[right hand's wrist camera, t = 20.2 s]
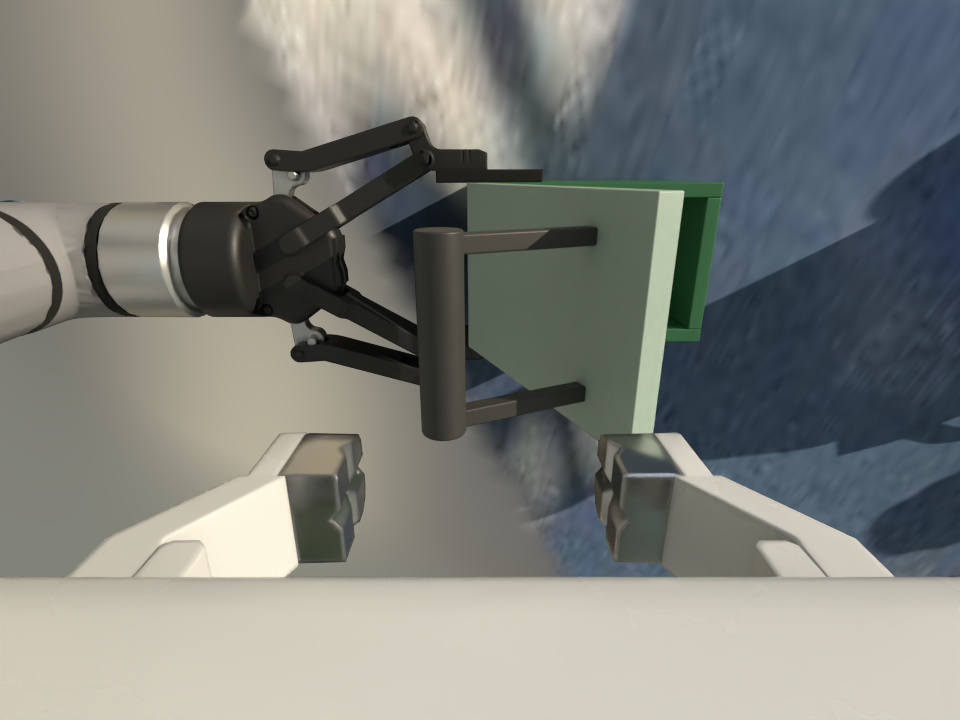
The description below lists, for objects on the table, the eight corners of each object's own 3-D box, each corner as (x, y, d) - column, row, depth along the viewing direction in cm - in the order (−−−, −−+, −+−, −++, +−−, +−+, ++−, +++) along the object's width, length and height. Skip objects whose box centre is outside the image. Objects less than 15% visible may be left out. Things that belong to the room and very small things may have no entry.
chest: (666, 180, 39) (724, 182, 30) (651, 305, 43) (699, 341, 33) (475, 180, 39) (475, 182, 30) (476, 305, 43) (476, 342, 33)
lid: (685, 190, 16) (450, 195, 13) (650, 456, 20) (456, 511, 17) (484, 182, 30) (341, 184, 26) (483, 344, 33) (357, 362, 30)
